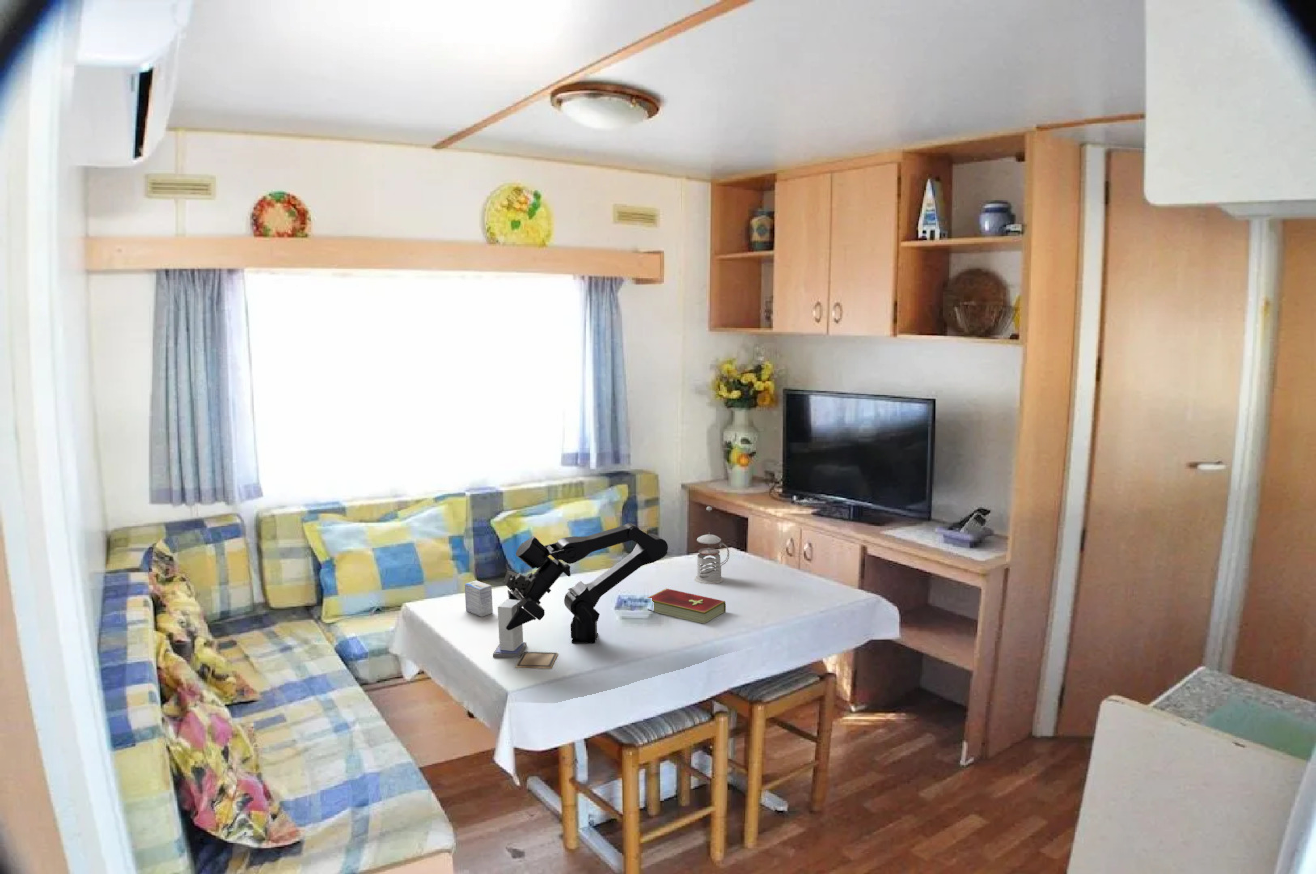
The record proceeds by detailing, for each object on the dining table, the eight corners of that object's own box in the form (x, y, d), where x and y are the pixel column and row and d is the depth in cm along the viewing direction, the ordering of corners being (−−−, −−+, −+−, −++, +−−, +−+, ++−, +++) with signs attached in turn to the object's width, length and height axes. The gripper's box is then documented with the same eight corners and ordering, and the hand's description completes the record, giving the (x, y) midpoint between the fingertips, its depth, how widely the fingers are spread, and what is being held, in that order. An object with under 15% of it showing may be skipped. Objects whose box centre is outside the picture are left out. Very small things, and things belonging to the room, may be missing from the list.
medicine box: (493, 613, 251) (492, 585, 249) (480, 617, 247) (479, 589, 246) (477, 607, 256) (476, 579, 255) (465, 611, 253) (464, 583, 251)
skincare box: (508, 641, 226) (507, 598, 224) (523, 643, 225) (522, 600, 223) (498, 650, 220) (497, 606, 218) (513, 651, 219) (512, 607, 217)
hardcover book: (667, 600, 263) (667, 587, 262) (725, 613, 251) (725, 599, 250) (644, 611, 253) (644, 598, 252) (704, 625, 241) (704, 611, 240)
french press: (692, 575, 285) (692, 503, 282) (725, 574, 287) (726, 502, 283) (696, 584, 276) (696, 510, 272) (731, 583, 277) (732, 509, 273)
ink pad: (526, 645, 226) (526, 641, 226) (519, 658, 218) (519, 653, 218) (500, 645, 227) (500, 641, 226) (493, 657, 219) (492, 652, 219)
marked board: (557, 654, 220) (557, 652, 220) (551, 668, 212) (551, 666, 212) (524, 653, 221) (524, 651, 221) (515, 667, 212) (515, 665, 212)
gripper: (513, 551, 229) (474, 596, 226) (530, 570, 212) (488, 619, 209) (542, 575, 233) (504, 619, 230) (561, 596, 216) (521, 644, 213)
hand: (504, 624), depth 221 cm, fingers closed on skincare box, 7 cm apart
